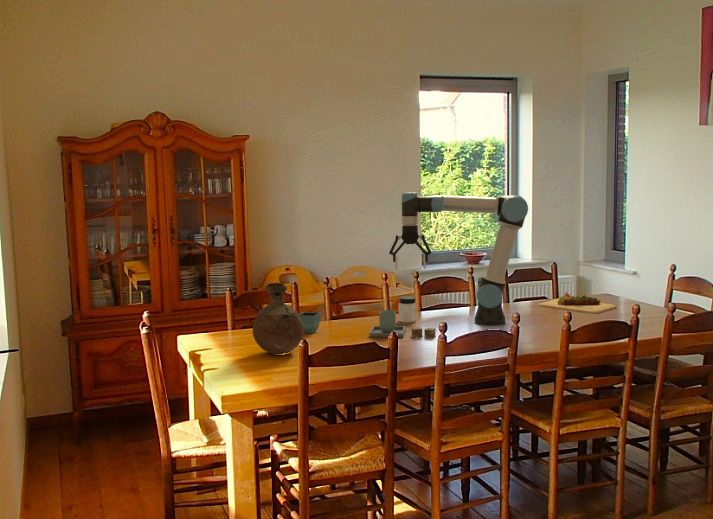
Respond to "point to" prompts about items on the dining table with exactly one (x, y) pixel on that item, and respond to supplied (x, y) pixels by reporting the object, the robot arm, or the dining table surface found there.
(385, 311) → the cup
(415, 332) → the walnut block
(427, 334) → the walnut block
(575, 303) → the cutting board
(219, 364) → the dining table surface
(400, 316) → the jar
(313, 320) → the flower pot
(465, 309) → the dining table surface
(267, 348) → the jug
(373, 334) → the tray
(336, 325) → the dining table surface
